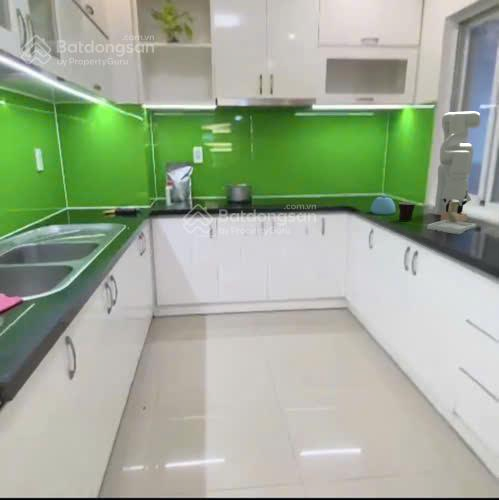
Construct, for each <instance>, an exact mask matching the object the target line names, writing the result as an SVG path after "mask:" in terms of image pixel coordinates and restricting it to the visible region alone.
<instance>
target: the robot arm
mask: <svg viewBox="0 0 499 500" xmlns="http://www.w3.org/2000/svg"><path fill="white" fill-rule="evenodd" d="M481 119H482V118H481V114H480V112H478V111H455V112H453V111H451V112H447V113H445V114H443V115H442V117H441V126H442V127H441V128H442V131H443V135H444V137H443V142H442V143H441V145H440V150H439V163H440V164H439V165H438V167H437V184H436V185H437V186H436V195H435V202H434V206H429V207H428V210H429V211H431V214H433V215H436V216H437V215H439V216H441V214H442V213H446V212H448V209H449V202H454V201H455V200H457V201H458V202H459V206H458V211H457V213H458V214H460V213H463V209H464V206H465V204H468V203H469V202H470V201H472V198H471V197H470V195H469V179H468V178H469V177H470V176H471V172H472V171H471V170H472V164H473V157H474V146H473V145H472V144H471V143H463V142H465V141H466V140H467V139H468V137H469V136H468V135H469V133H468V132H469V131H468V130H471V129H477V128H479V126H480V125H481V121H482V120H481Z"/></svg>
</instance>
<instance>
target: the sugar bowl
mask: <svg viewBox="0 0 499 500" xmlns="http://www.w3.org/2000/svg"><path fill="white" fill-rule="evenodd" d="M370 212H372V214H374V215H382V216H383V215H384V216H387V215H388V216H390V215H393V214H394V213H395V212H396V204H395V202H394V201H393V198H391V197H387V194H381V196H379V197H376V198H375V199H374V200H373V202H372V204H371V206H370Z"/></svg>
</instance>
